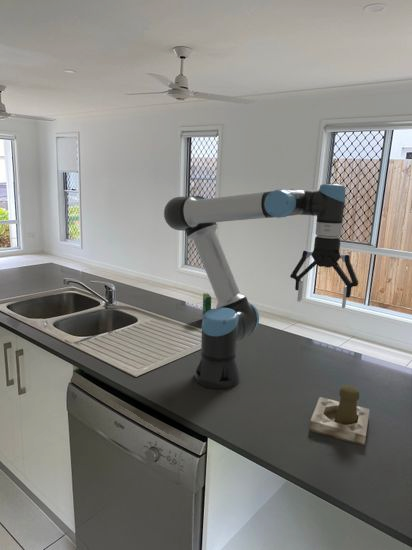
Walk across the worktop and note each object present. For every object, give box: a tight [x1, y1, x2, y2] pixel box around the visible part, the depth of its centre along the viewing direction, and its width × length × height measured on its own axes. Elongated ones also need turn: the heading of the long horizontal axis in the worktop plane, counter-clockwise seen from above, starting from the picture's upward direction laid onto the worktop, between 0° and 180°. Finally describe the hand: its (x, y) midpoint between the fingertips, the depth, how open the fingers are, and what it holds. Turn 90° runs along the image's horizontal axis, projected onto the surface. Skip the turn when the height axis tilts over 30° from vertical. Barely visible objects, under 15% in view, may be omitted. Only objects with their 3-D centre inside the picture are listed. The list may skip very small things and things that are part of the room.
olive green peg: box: [334, 384, 360, 425], centre depth 110 cm, size 6×6×11 cm
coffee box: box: [202, 292, 212, 317], centre depth 190 cm, size 8×3×13 cm, turn 10°
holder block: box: [309, 396, 370, 447], centre depth 111 cm, size 14×14×3 cm
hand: (321, 303), depth 126 cm, fingers open, 13 cm apart
